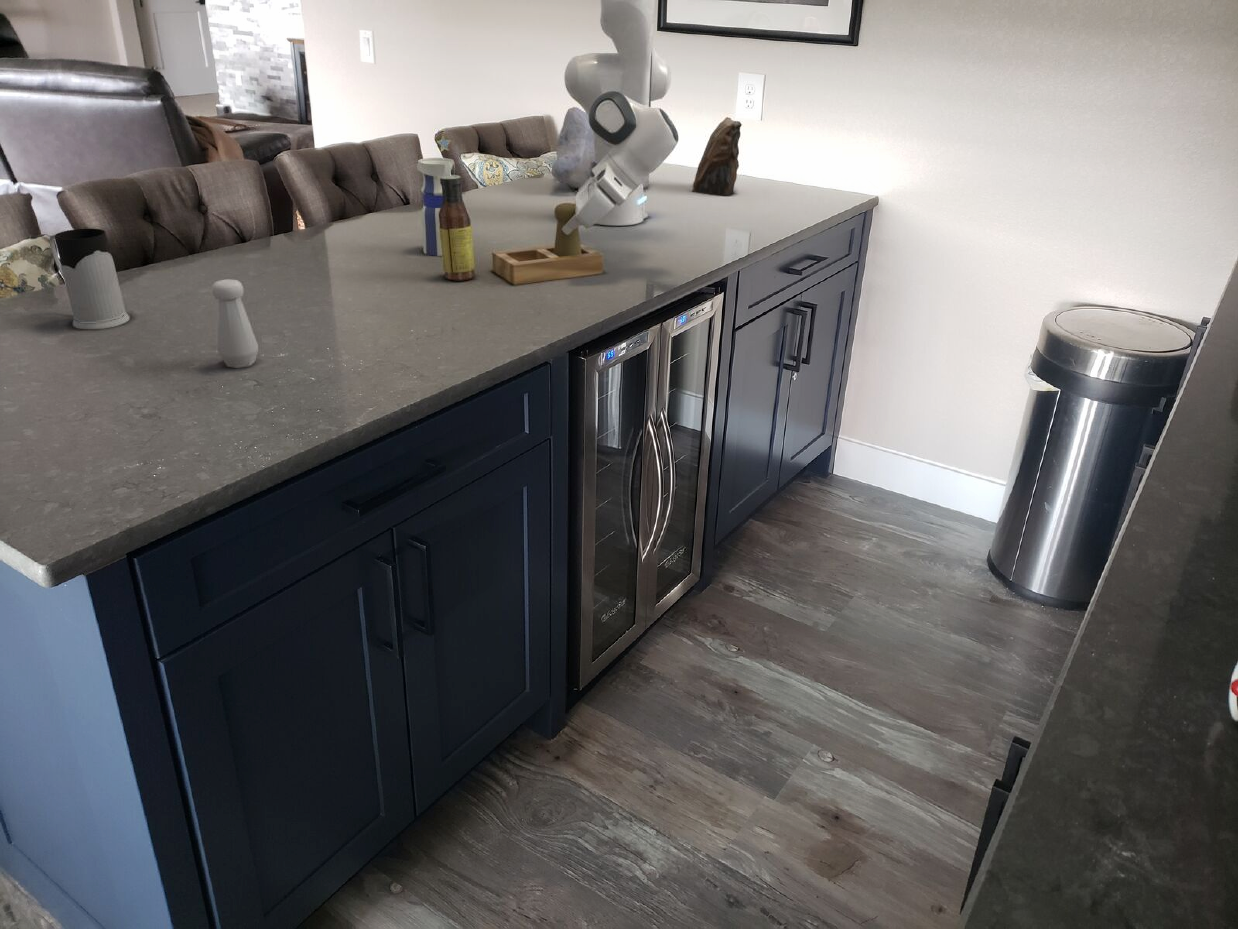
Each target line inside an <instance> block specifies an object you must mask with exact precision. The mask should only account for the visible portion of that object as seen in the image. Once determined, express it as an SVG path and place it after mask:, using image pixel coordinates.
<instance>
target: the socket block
mask: <svg viewBox="0 0 1238 929" xmlns="http://www.w3.org/2000/svg"><path fill="white" fill-rule="evenodd" d="M580 245H581V252H582V254H580V255H572V256H563V257H559V256H557V255H555V254H554V246H555V244H552V245H551V244H550V245H543V246H534V247H525V248H515V249H507V250H500V251H499V250H497V251H492V252H491V253H492V254H491V255H492V256H491V258H492V272H493V273H495V274H496V275H497V276H500V277H501V278H503V279H504V280H506V281H507V282H509V283H511V284H512V285H514V286H517V285H525V284H532V283H533V284H534V283H540V282H547V281H555V280H563V279H570V278H578V277H585V276H586V277H587V276H593V275H594V276H595V275H600V274H603V273H604V266H603V265H604V254H603V253H601V252H599V251H597V250H595V249H593V248H591V247H589V246H587V245H585V244H583V243H581V242H580Z"/></svg>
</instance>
